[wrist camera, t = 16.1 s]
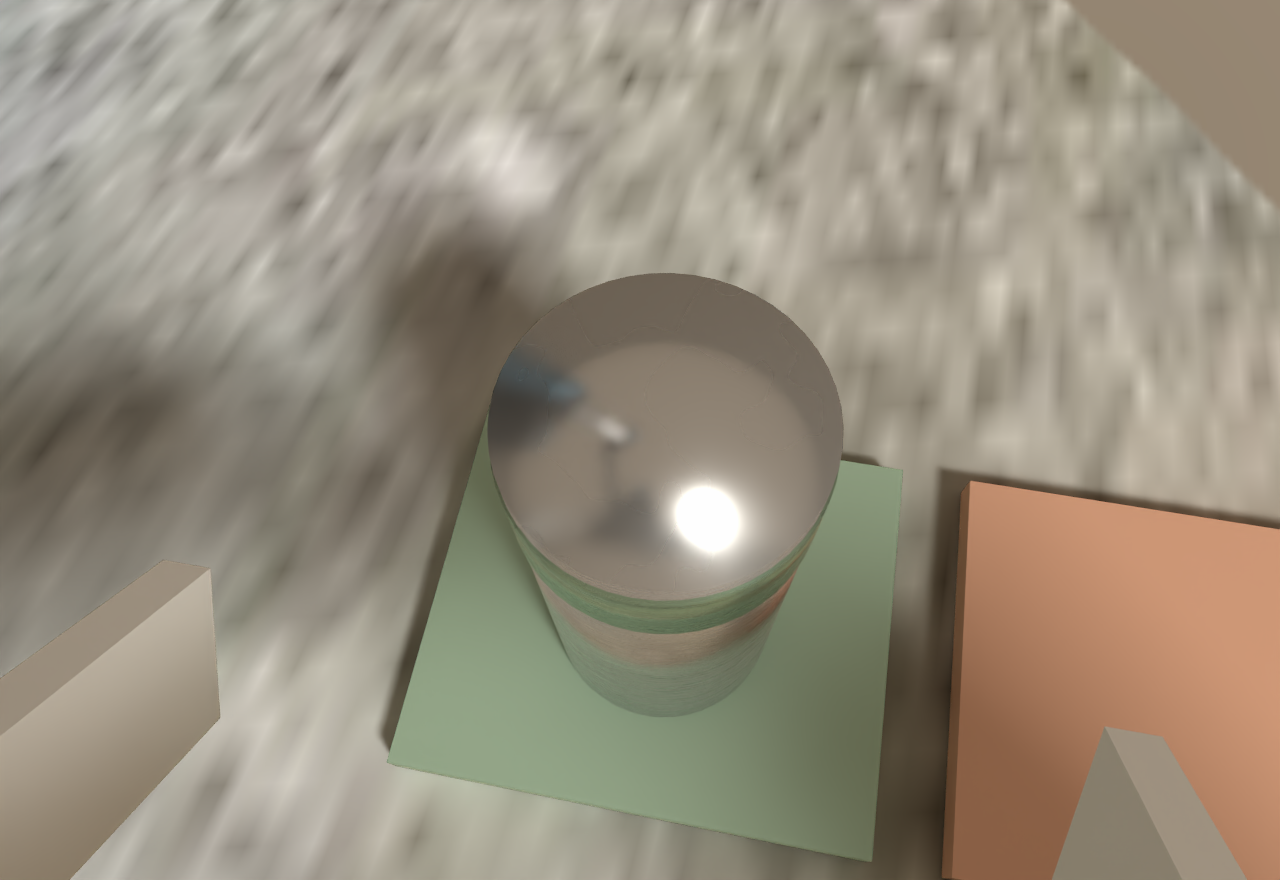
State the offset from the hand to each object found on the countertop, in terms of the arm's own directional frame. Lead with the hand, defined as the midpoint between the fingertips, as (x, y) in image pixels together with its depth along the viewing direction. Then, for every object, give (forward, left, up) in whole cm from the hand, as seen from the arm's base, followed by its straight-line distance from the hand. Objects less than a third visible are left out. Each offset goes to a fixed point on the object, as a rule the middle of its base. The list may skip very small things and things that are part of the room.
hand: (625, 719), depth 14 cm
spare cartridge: (-5, 0, -12) cm, 13 cm away
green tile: (-5, -1, -13) cm, 14 cm away
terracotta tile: (-5, +14, -13) cm, 20 cm away
